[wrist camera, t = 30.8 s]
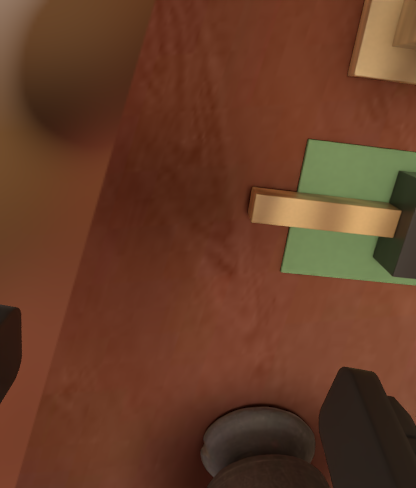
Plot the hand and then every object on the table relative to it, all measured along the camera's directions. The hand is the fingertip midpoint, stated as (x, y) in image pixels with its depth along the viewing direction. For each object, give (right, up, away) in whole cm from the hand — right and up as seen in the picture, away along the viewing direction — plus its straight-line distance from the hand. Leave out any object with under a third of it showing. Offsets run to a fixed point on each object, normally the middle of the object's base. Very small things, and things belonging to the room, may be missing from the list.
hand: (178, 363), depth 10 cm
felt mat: (+18, +5, +25) cm, 31 cm away
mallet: (+12, +6, +24) cm, 28 cm away
